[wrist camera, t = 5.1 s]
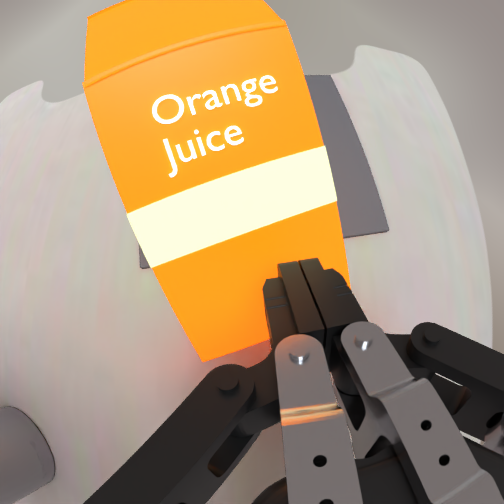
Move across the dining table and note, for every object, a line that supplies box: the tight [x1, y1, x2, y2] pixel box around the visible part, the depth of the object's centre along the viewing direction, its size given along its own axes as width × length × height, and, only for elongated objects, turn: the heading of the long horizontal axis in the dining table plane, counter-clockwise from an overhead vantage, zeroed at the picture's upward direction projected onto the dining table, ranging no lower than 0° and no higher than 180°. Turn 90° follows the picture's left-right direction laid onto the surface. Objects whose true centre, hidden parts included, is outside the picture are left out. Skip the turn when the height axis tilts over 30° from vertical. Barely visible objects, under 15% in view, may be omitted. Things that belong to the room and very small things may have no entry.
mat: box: [139, 75, 389, 269], centre depth 24 cm, size 20×18×1 cm
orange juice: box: [82, 0, 351, 362], centre depth 14 cm, size 8×9×20 cm
